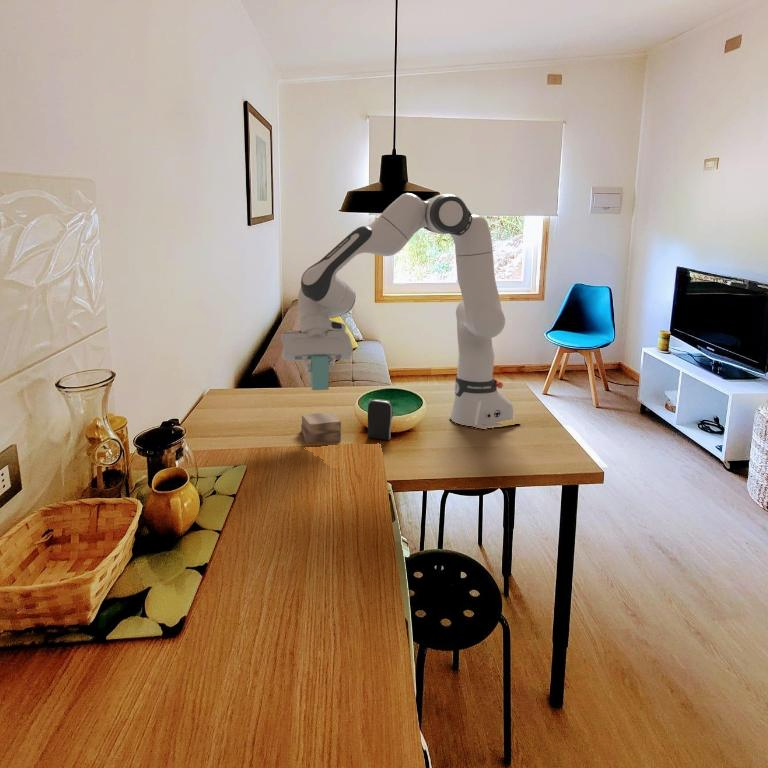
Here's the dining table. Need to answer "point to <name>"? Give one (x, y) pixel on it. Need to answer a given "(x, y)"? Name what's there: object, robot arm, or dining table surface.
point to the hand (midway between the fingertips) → (319, 370)
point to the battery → (380, 419)
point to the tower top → (321, 423)
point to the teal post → (320, 373)
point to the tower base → (320, 436)
